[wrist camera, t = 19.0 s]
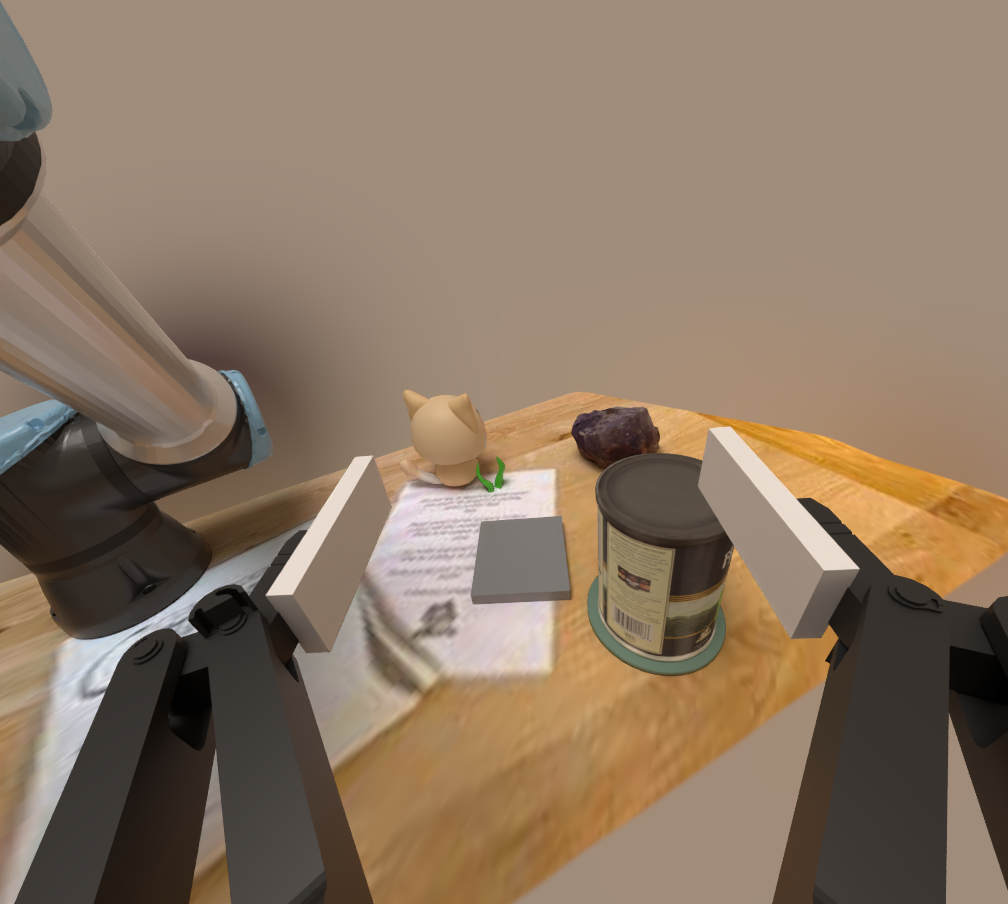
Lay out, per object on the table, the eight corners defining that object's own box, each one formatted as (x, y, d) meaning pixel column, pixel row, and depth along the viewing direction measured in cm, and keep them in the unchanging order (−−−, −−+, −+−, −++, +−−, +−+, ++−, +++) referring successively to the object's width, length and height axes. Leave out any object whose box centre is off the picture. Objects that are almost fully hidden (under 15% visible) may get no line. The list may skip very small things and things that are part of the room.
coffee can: (706, 572, 39) (730, 453, 31) (725, 674, 31) (764, 546, 23) (600, 559, 42) (600, 449, 35) (591, 649, 34) (589, 529, 26)
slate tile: (570, 590, 38) (561, 516, 48) (470, 595, 39) (481, 521, 49) (570, 602, 39) (562, 527, 49) (473, 606, 40) (483, 532, 50)
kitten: (519, 467, 60) (506, 376, 52) (491, 508, 53) (471, 409, 45) (439, 455, 67) (417, 372, 59) (404, 490, 59) (373, 401, 51)
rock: (586, 448, 65) (573, 482, 57) (576, 401, 61) (562, 431, 53) (661, 443, 60) (659, 480, 52) (656, 391, 56) (653, 423, 48)
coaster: (569, 578, 41) (569, 574, 41) (674, 550, 42) (674, 546, 42) (622, 693, 31) (622, 690, 31) (757, 652, 32) (759, 648, 32)
